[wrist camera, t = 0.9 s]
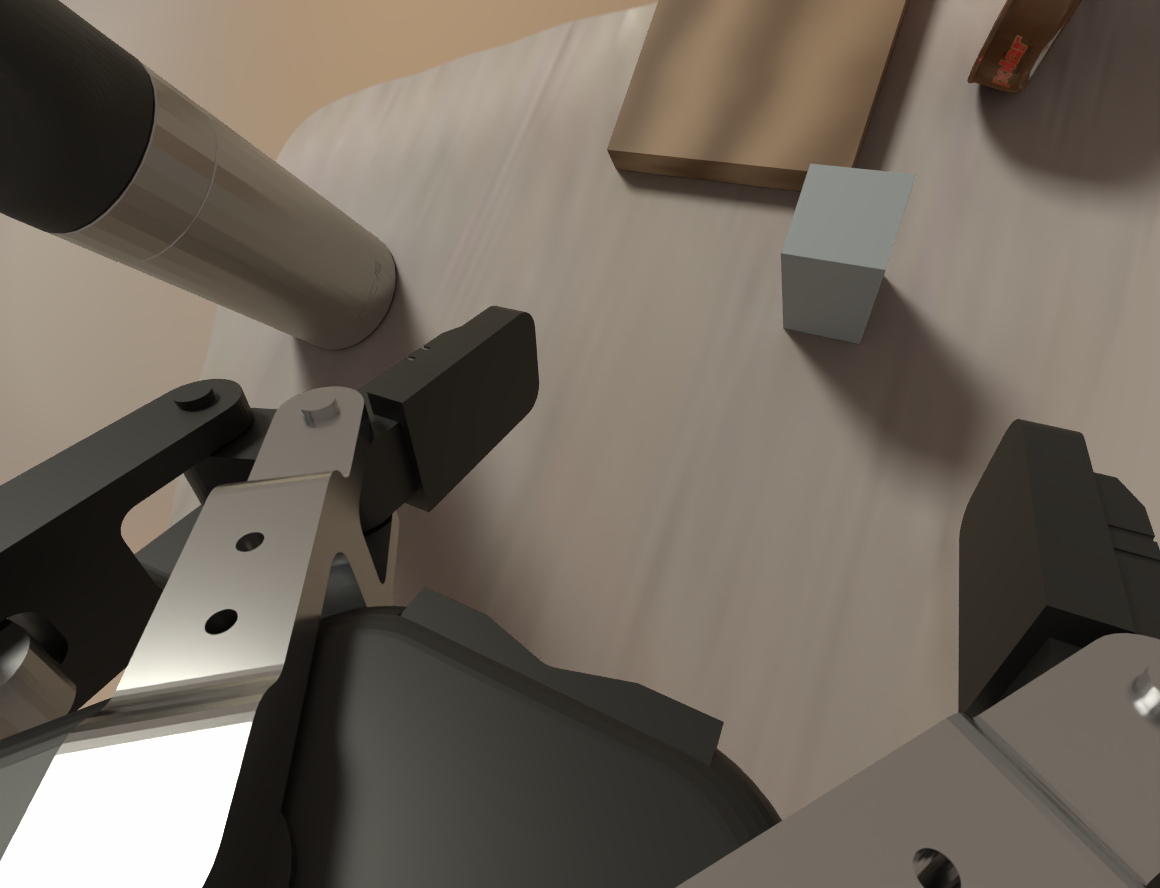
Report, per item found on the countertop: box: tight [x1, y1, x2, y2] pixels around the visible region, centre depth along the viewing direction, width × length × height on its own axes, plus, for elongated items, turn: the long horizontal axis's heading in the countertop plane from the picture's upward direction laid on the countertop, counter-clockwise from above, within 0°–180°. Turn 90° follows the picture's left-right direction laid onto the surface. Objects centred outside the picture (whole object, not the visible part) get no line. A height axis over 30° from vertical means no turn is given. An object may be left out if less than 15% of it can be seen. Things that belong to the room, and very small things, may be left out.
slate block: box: [781, 164, 916, 344], centre depth 28 cm, size 4×4×9 cm
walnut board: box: [607, 0, 909, 191], centre depth 34 cm, size 14×14×2 cm
